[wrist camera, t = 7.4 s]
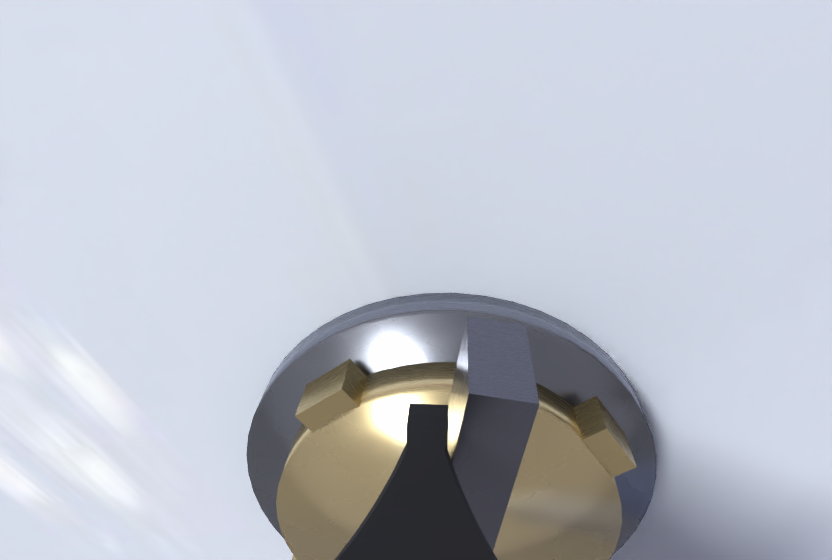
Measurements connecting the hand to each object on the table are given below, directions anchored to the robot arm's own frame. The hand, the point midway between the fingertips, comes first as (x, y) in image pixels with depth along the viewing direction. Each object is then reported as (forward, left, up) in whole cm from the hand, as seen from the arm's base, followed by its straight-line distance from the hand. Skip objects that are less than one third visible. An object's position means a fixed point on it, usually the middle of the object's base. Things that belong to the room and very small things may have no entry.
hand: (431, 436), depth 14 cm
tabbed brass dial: (-3, +5, -4) cm, 7 cm away
